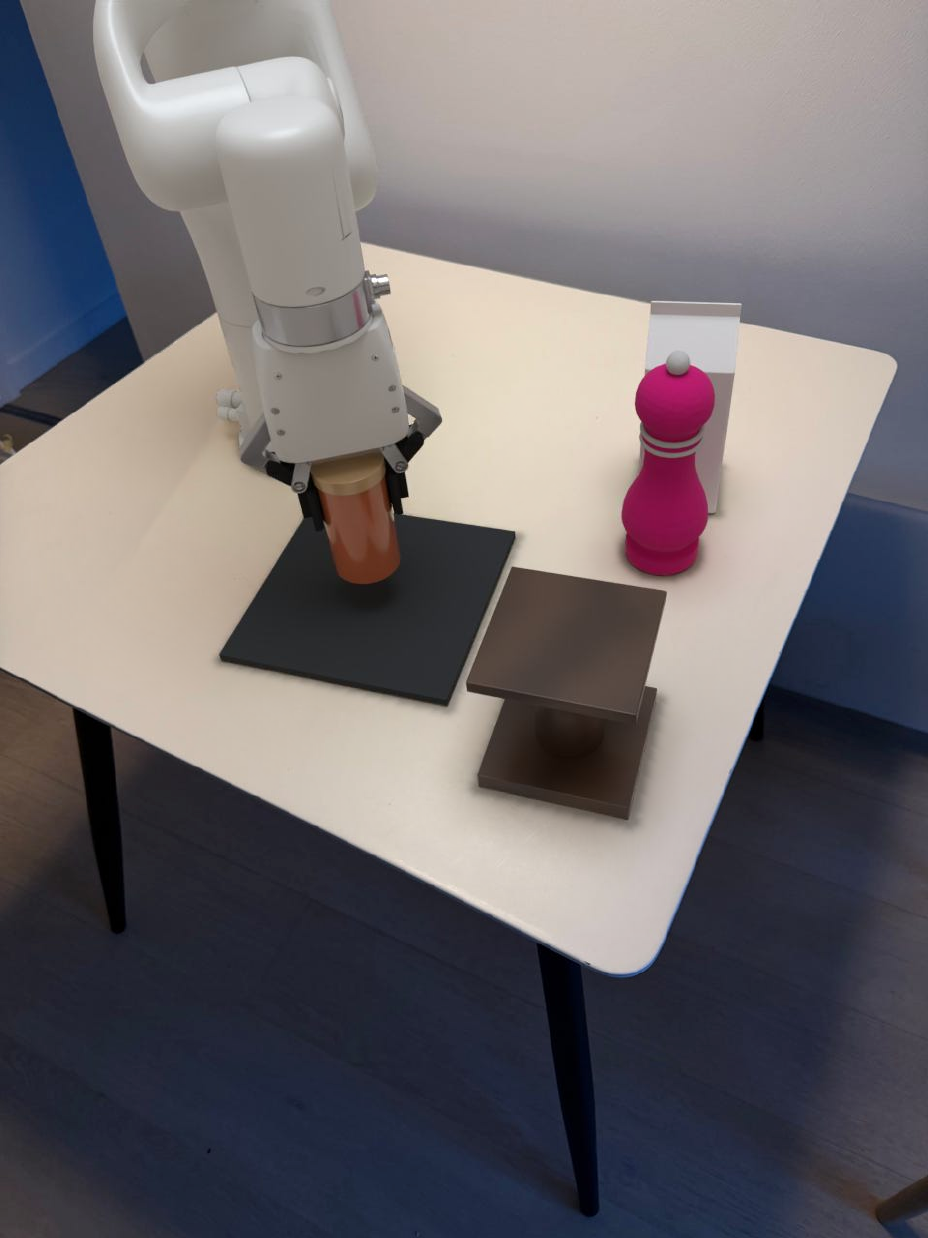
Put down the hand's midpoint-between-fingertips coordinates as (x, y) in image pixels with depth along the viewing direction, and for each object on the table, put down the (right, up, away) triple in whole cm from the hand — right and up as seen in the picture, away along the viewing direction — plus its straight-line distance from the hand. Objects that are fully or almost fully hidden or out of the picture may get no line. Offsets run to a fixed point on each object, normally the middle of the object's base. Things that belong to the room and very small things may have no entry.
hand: (357, 510), depth 79 cm
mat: (+1, -7, +7) cm, 10 cm away
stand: (+16, -18, -5) cm, 25 cm away
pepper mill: (+26, -3, +9) cm, 27 cm away
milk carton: (+29, +4, +14) cm, 32 cm away
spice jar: (0, -4, +4) cm, 6 cm away
